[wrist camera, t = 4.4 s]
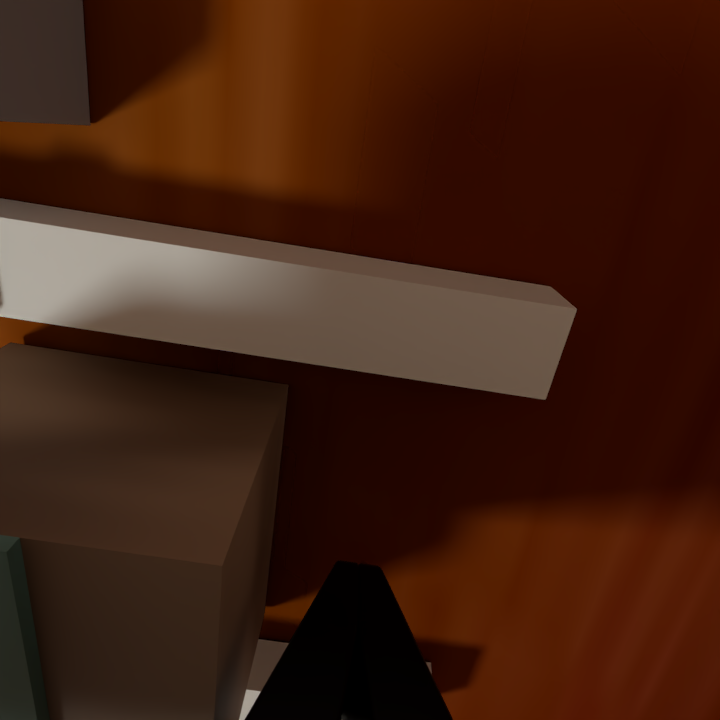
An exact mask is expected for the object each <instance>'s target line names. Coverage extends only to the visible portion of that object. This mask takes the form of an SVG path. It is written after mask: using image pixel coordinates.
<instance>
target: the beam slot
mask: <svg viewBox="0 0 720 720" xmlns="http://www.w3.org/2000/svg"><path fill="white" fill-rule="evenodd" d="M0 121H10V122H31V123H53V124H74V125H90V112H89V96H88V80H87V64H86V48H85V32H84V16H83V0H0ZM576 311H577V309H576V308H575V307H574V306H573V305H572V304H571V303H569V302H568V301H567V300H566V299H565V298H564V297H562V296H561V295H560V294H559V293H558V292H557V291H555V290H554V289H553V288H552V287H551V286H545V285H538V284H532V283H526V282H520V281H513V280H507V279H501V278H495V277H488V276H482V275H476V274H470V273H464V272H457V271H451V270H445V269H439V268H432V267H426V266H420V265H414V264H407V263H401V262H395V261H389V260H383V259H376V258H370V257H364V256H358V255H351V254H345V253H339V252H333V251H326V250H320V249H314V248H308V247H301V246H295V245H289V244H283V243H277V242H270V241H264V240H258V239H252V238H245V237H239V236H233V235H227V234H220V233H214V232H208V231H202V230H196V229H189V228H183V227H177V226H171V225H164V224H158V223H152V222H146V221H139V220H133V219H127V218H121V217H115V216H108V215H102V214H96V213H90V212H83V211H77V210H71V209H65V208H58V207H52V206H46V205H40V204H33V203H27V202H21V201H15V200H9V199H2V198H0V316H1V317H8V318H14V319H21V320H27V321H34V322H40V323H47V324H53V325H60V326H66V327H73V328H80V329H86V330H93V331H99V332H106V333H112V334H119V335H125V336H132V337H138V338H145V339H151V340H158V341H164V342H171V343H177V344H184V345H190V346H197V347H203V348H210V349H216V350H223V351H230V352H236V353H243V354H249V355H256V356H262V357H269V358H275V359H282V360H288V361H295V362H301V363H308V364H314V365H321V366H327V367H334V368H340V369H347V370H353V371H360V372H367V373H373V374H380V375H386V376H393V377H399V378H406V379H412V380H419V381H425V382H432V383H438V384H445V385H451V386H458V387H464V388H471V389H477V390H484V391H490V392H497V393H504V394H510V395H517V396H523V397H530V398H536V399H543V400H546V397H547V394H548V392H549V389H550V386H551V383H552V380H553V377H554V374H555V371H556V369H557V366H558V363H559V360H560V357H561V354H562V351H563V348H564V346H565V343H566V340H567V337H568V334H569V331H570V328H571V325H572V323H573V320H574V317H575V314H576ZM288 644H289V643H284V642H276V641H269V640H262V639H258V643H257V647H256V651H255V655H254V659H253V664H252V668H251V672H250V676H249V680H248V684H247V689H246V693H245V697H244V701H243V705H242V709H241V713H240V718H239V720H245V718H246V716H247V715H248V713H249V711H250V709H251V708H252V706H253V704H254V702H255V701H256V699H257V697H258V696H259V694H260V692H261V690H262V689H263V687H264V685H265V683H266V682H267V680H268V678H269V677H270V675H271V673H272V671H273V670H274V668H275V666H276V664H277V663H278V661H279V659H280V658H281V656H282V654H283V652H284V651H285V649H286V647H287V646H288ZM426 664H427V666H428V668H429V670H430V672H431V674H432V669H431V662H426Z"/></svg>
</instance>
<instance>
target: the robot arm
mask: <svg viewBox="0 0 720 720" xmlns="http://www.w3.org/2000/svg"><path fill="white" fill-rule="evenodd" d="M245 720H453V719H452V717H451V714H450V712H449V710H448V708H447V706H446V704H445V702H444V700H443V697H442V695H441V693H440V691H439V689H438V687H437V685H436V683H435V681H434V678H433V676H432V674H431V672H430V670H429V668H428V666H427V664H426V662H425V659H424V657H423V655H422V653H421V651H420V649H419V647H418V645H417V642H416V640H415V638H414V636H413V634H412V632H411V630H410V628H409V626H408V623H407V621H406V619H405V617H404V615H403V613H402V611H401V609H400V606H399V604H398V602H397V600H396V598H395V596H394V594H393V592H392V590H391V587H390V585H389V583H388V581H387V579H386V577H385V575H384V573H383V571H382V569H381V568H380V567H379V566H376V565H370V564H363V563H360V564H358V563H356V562H349V561H342V560H338V561H337V562H336V563H335V564H334V566H333V568H332V570H331V571H330V573H329V575H328V576H327V578H326V580H325V582H324V583H323V585H322V587H321V589H320V590H319V592H318V594H317V595H316V597H315V599H314V601H313V602H312V604H311V606H310V608H309V609H308V611H307V613H306V614H305V616H304V618H303V620H302V621H301V623H300V625H299V627H298V628H297V630H296V632H295V633H294V635H293V637H292V639H291V640H290V642H289V644H288V646H287V647H286V649H285V651H284V652H283V654H282V656H281V658H280V659H279V661H278V663H277V664H276V666H275V668H274V670H273V671H272V673H271V675H270V677H269V678H268V680H267V682H266V683H265V685H264V687H263V689H262V690H261V692H260V694H259V696H258V697H257V699H256V701H255V702H254V704H253V706H252V708H251V709H250V711H249V713H248V715H247V716H246V718H245Z"/></svg>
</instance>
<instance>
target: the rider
mask: <svg viewBox="0 0 720 720" xmlns="http://www.w3.org/2000/svg"><path fill="white" fill-rule="evenodd" d="M288 386H289V385H287V384H280V383H273V382H267V381H260V380H254V379H247V378H240V377H234V376H227V375H221V374H214V373H208V372H201V371H194V370H188V369H181V368H175V367H168V366H161V365H155V364H148V363H142V362H135V361H129V360H122V359H115V358H109V357H102V356H96V355H89V354H82V353H76V352H69V351H63V350H56V349H49V348H43V347H36V346H30V345H23V344H17V343H9V344H7V345H5V346H4V347H2V348H0V720H239V718H240V713H241V709H242V705H243V701H244V697H245V693H246V689H247V684H248V680H249V676H250V672H251V668H252V664H253V659H254V655H255V651H256V647H257V643H258V639H259V634H260V630H261V626H262V622H263V618H264V613H265V603H266V594H267V585H268V575H269V566H270V556H271V547H272V537H273V528H274V518H275V509H276V499H277V490H278V481H279V471H280V462H281V452H282V443H283V433H284V424H285V414H286V405H287V395H288Z"/></svg>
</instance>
